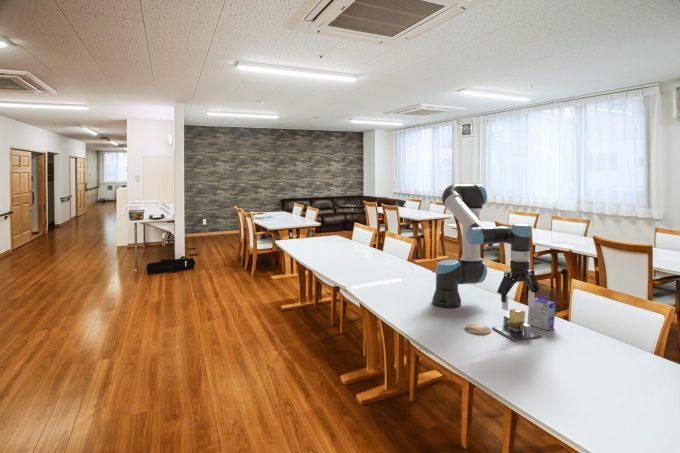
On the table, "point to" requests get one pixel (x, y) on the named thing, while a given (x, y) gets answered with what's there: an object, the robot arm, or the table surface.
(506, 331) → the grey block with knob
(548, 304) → the ink cartridge box
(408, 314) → the table surface
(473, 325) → the coaster
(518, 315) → the bell
